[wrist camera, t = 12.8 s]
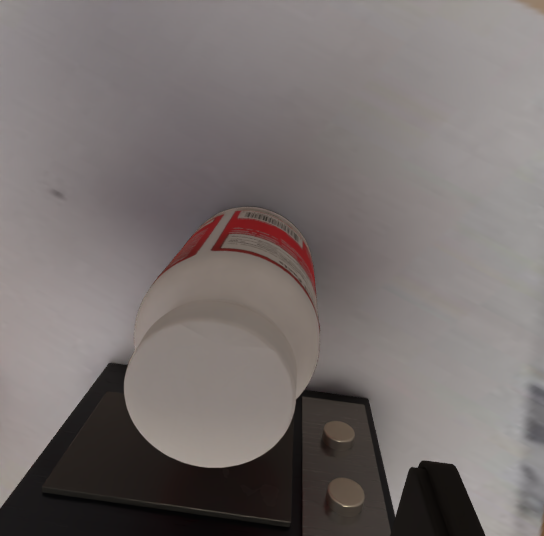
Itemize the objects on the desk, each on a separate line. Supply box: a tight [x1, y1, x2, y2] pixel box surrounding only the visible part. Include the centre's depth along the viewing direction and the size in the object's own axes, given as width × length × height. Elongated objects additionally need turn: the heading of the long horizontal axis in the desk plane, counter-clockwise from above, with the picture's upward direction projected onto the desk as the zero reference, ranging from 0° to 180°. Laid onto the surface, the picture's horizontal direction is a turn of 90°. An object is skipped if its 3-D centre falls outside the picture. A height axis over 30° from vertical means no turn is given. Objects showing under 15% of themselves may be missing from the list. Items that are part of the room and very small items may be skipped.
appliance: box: [0, 363, 395, 536], centre depth 21 cm, size 10×14×11 cm
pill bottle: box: [124, 207, 320, 468], centre depth 18 cm, size 6×6×11 cm
